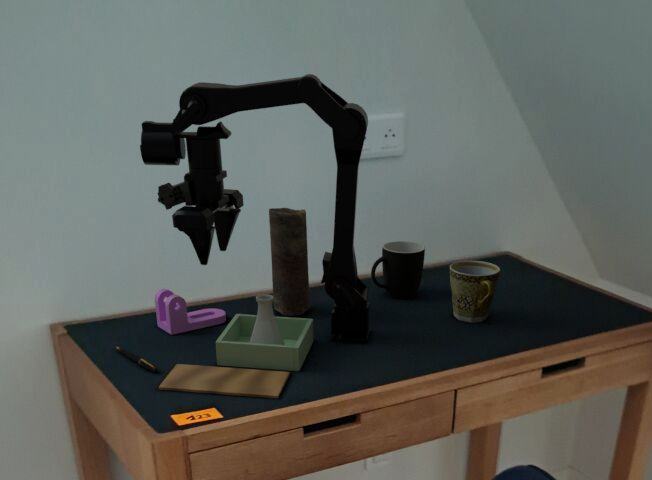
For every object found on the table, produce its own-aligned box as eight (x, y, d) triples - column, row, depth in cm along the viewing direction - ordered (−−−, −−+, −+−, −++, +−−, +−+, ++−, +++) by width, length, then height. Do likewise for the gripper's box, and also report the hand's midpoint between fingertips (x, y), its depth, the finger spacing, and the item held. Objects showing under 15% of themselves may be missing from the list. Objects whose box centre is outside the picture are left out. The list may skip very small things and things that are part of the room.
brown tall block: (266, 308, 176) (261, 206, 165) (295, 302, 180) (293, 202, 169) (286, 319, 171) (283, 215, 160) (317, 312, 175) (316, 210, 164)
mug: (408, 285, 191) (411, 239, 186) (430, 297, 185) (433, 249, 179) (361, 292, 186) (362, 245, 181) (381, 305, 180) (382, 256, 174)
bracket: (171, 334, 163) (167, 298, 159) (157, 326, 166) (153, 290, 162) (231, 321, 169) (228, 286, 166) (216, 313, 173) (214, 278, 169)
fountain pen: (113, 350, 156) (112, 342, 155) (119, 349, 156) (118, 341, 155) (154, 375, 147) (153, 367, 146) (160, 373, 148) (159, 365, 147)
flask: (280, 360, 153) (278, 305, 147) (241, 356, 154) (238, 301, 148) (291, 346, 159) (290, 292, 153) (254, 342, 160) (251, 288, 154)
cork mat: (289, 374, 149) (289, 371, 148) (277, 398, 140) (277, 395, 140) (177, 366, 150) (176, 363, 150) (158, 389, 142) (158, 386, 142)
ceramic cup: (438, 310, 178) (442, 262, 172) (482, 307, 181) (487, 259, 175) (463, 332, 168) (467, 281, 162) (509, 328, 170) (515, 278, 165)
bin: (313, 341, 162) (313, 318, 160) (299, 371, 150) (298, 347, 148) (237, 335, 163) (236, 313, 161) (217, 365, 151) (215, 341, 149)
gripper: (183, 153, 157) (192, 241, 166) (138, 174, 142) (150, 268, 151) (241, 157, 155) (247, 245, 164) (201, 177, 140) (210, 273, 149)
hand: (213, 257), depth 157 cm, fingers open, 9 cm apart
